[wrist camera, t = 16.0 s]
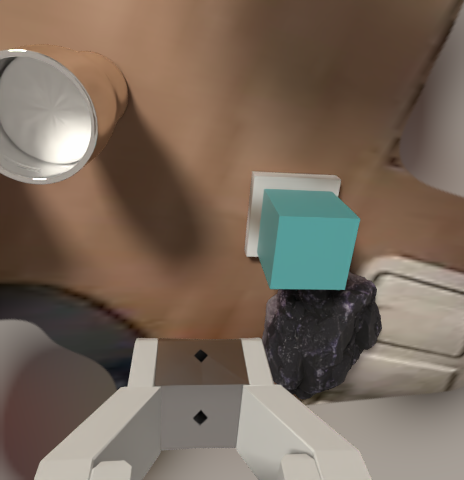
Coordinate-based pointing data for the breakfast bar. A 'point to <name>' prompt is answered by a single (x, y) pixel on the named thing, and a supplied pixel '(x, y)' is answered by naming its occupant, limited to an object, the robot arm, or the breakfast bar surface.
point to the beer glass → (56, 110)
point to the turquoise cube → (306, 239)
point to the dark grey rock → (319, 334)
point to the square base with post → (280, 182)
